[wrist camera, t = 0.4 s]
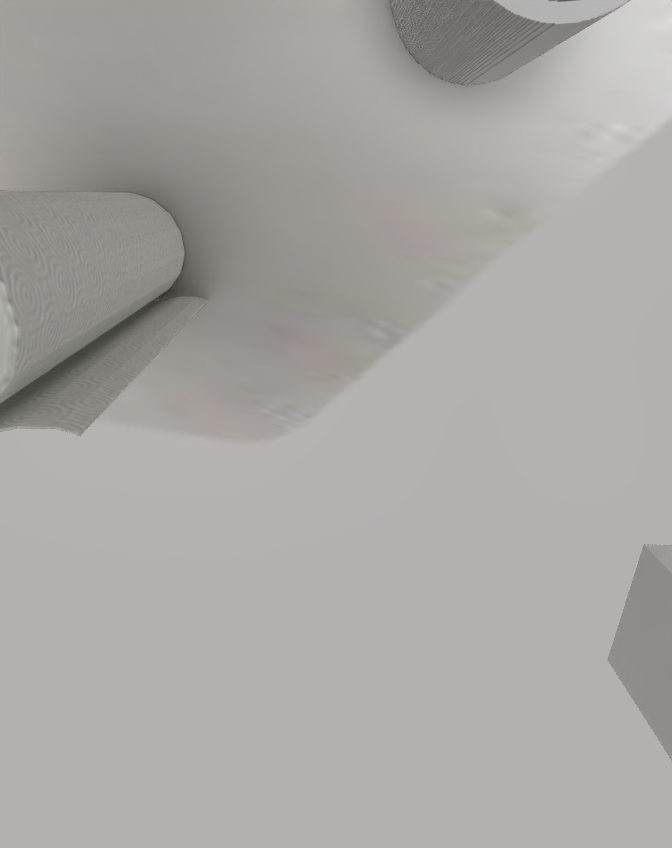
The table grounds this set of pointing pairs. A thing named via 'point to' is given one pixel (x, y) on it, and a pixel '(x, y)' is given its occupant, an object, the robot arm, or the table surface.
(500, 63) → the cup
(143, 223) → the paper towel roll
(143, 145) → the table surface
